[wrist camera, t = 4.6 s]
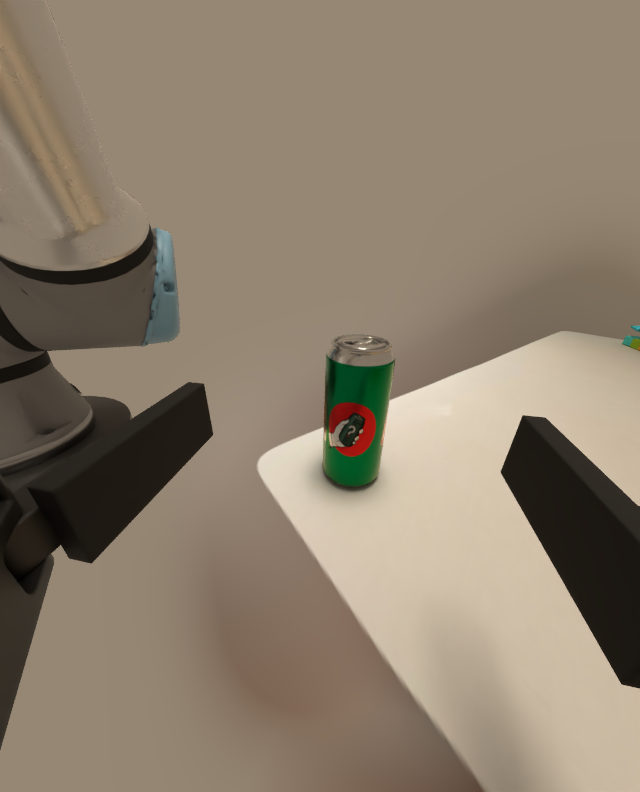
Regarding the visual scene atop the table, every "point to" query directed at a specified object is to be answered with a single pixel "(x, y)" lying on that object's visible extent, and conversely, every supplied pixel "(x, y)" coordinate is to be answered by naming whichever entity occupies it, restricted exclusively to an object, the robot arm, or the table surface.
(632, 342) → the chart
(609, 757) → the table surface
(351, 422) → the soda can
